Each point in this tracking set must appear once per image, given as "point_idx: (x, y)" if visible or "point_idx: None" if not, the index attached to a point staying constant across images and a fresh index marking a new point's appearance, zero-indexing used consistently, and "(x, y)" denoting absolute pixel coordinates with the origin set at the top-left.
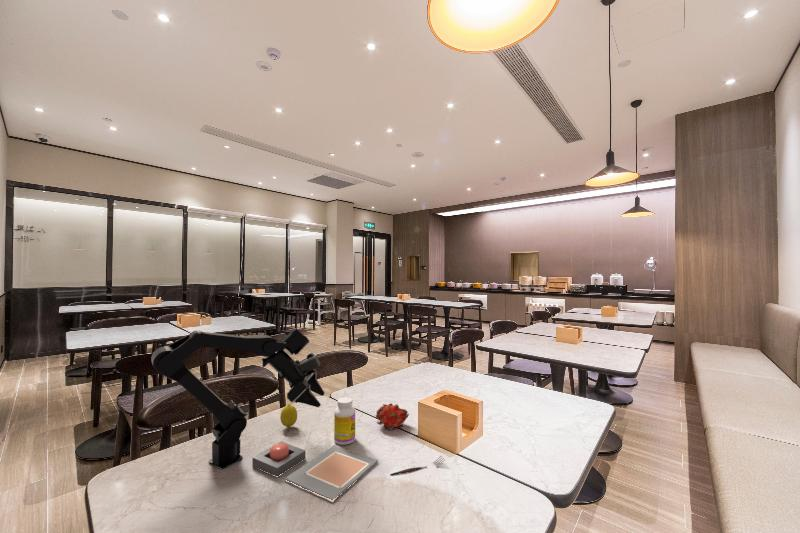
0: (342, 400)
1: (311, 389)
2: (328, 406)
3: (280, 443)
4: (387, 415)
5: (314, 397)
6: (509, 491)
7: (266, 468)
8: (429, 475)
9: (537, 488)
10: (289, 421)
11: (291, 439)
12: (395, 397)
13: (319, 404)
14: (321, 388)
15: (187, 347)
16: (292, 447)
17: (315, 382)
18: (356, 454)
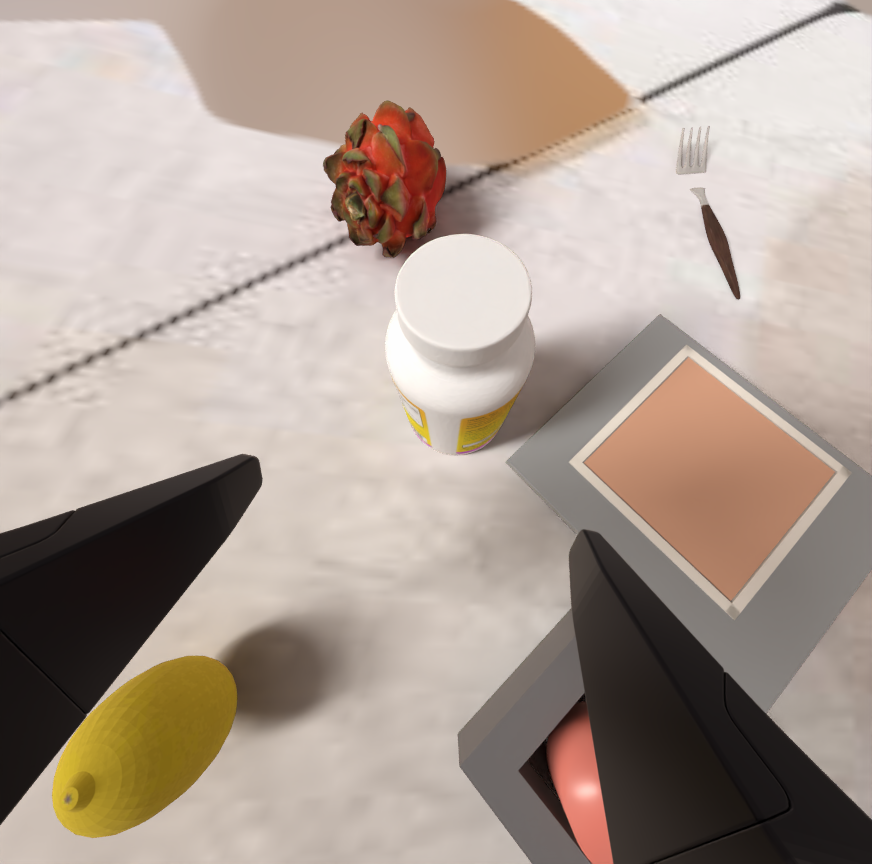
0: (466, 307)
1: (127, 645)
2: (65, 446)
3: (569, 800)
4: (426, 182)
5: (696, 655)
6: (829, 62)
7: None
8: (745, 197)
9: (817, 13)
10: (228, 717)
11: (363, 672)
12: (142, 159)
13: (605, 546)
14: (186, 486)
15: None
16: (550, 691)
17: (16, 603)
18: (607, 381)
